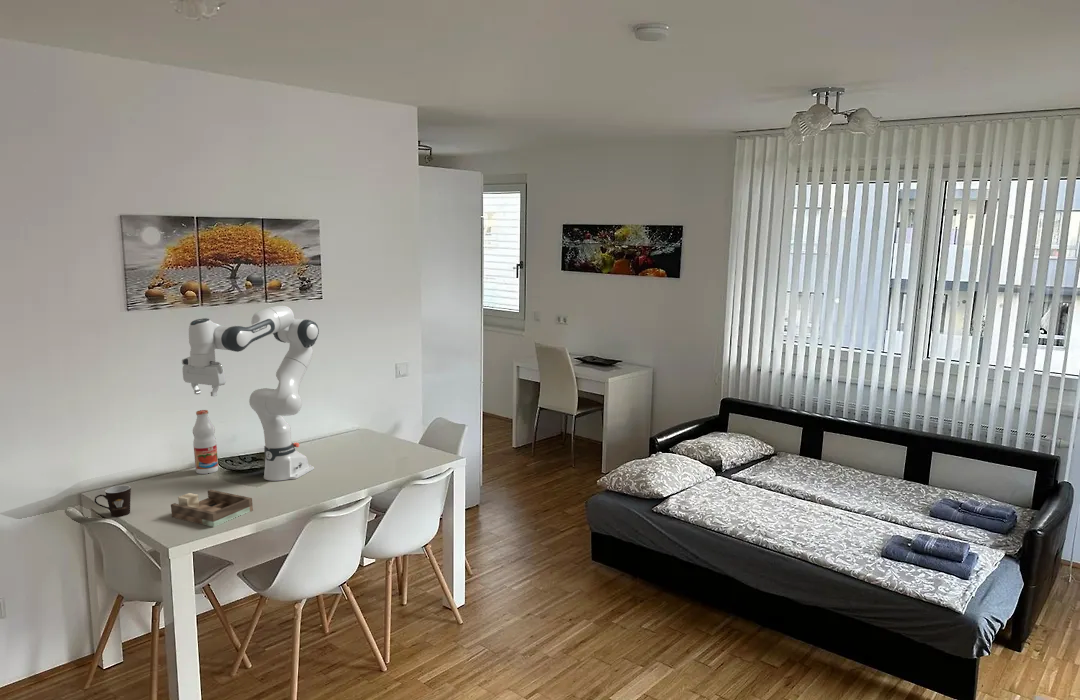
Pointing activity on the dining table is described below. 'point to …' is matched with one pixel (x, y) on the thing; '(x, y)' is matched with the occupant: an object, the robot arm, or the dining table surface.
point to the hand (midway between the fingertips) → (205, 395)
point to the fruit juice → (204, 444)
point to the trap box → (214, 509)
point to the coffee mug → (117, 500)
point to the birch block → (189, 500)
